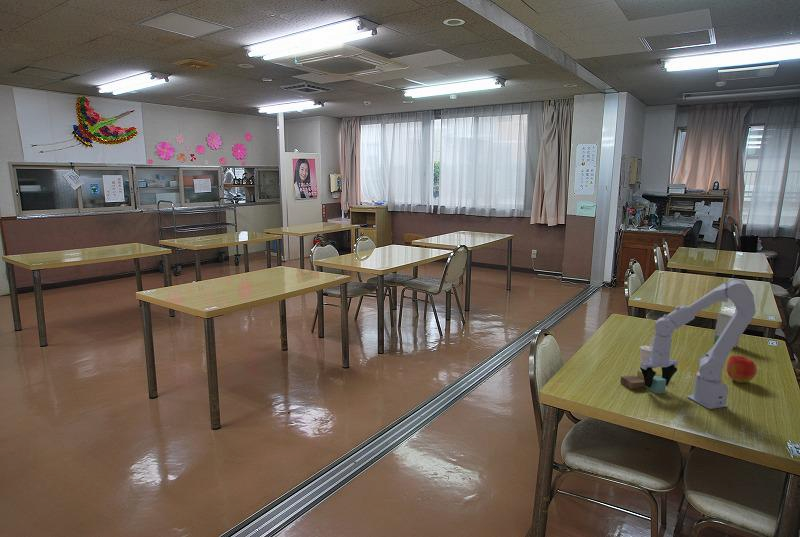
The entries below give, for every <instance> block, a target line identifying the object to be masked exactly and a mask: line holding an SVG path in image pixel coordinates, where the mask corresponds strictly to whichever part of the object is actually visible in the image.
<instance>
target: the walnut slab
mask: <svg viewBox="0 0 800 537" xmlns="http://www.w3.org/2000/svg"><path fill="white" fill-rule="evenodd" d="M619 383H620V384H621V385H622V384H623V385H622V386H624V387H625V388H627V389H628V390H630V391H634V390H636V391H637V390H643V389H645V390H646V386H645V381H644V380H642V379H640V378H639V377H637V375H634V374H632V375H621V376H620V382H619Z"/></svg>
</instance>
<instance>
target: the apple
mask: <svg viewBox="0 0 800 537" xmlns="http://www.w3.org/2000/svg"><path fill="white" fill-rule="evenodd" d="M757 372H758V370H757V365H756V363H755V362H754V361H753V360H752V359H749V358H748V357H745V356H741V355H731V356H730V357H729V358H728V361H727V364H726V373H727V374H728V376H729V378H730V379H732V380H733V381H734V382H737V383H739V384H742V383H747V382H750V381H752V380H753V379H754V378H755V376H756V375H757Z"/></svg>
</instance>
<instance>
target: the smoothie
mask: <svg viewBox="0 0 800 537" xmlns="http://www.w3.org/2000/svg"><path fill="white" fill-rule="evenodd" d="M649 343H650V344H649V345H645V344H644V345H640V346H639V350H640V364H641V363H643V362H646V361H648V360H649V358H651V354H652V347H653V337H650V342H649Z"/></svg>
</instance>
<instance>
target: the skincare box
mask: <svg viewBox="0 0 800 537" xmlns="http://www.w3.org/2000/svg"><path fill="white" fill-rule="evenodd" d="M717 313H718V314H717V319H716V324H715V329H714V335H713V340H712V343H713V344H715V343H716V341H717V340H718V338H719V337H720V335H721V334H722V332H723V331H724V329H725V327H726V326H727V324H728V323H729V321H730V320H731V318H732V317H733V315H734V313H735V312H732V311H729V310H728V311H727V310H724V311H719V312H717ZM739 341H740V338H739V339H738V341H737V342H736V344H735V345H734V347H735V346H738V347H739ZM735 348H736V347H735Z"/></svg>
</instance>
